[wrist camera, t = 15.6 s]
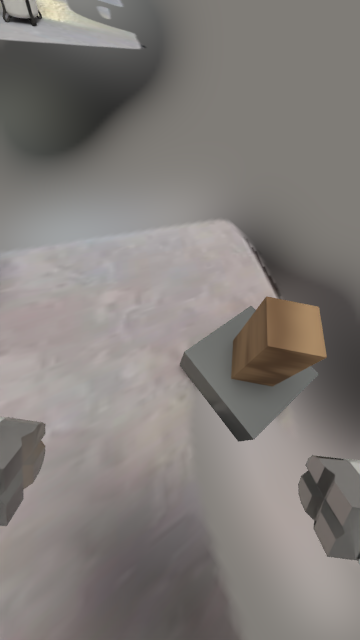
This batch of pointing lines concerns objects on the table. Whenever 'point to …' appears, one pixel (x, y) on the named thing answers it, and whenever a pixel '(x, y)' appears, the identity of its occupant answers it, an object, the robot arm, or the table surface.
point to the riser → (238, 383)
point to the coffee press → (21, 10)
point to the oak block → (278, 342)
